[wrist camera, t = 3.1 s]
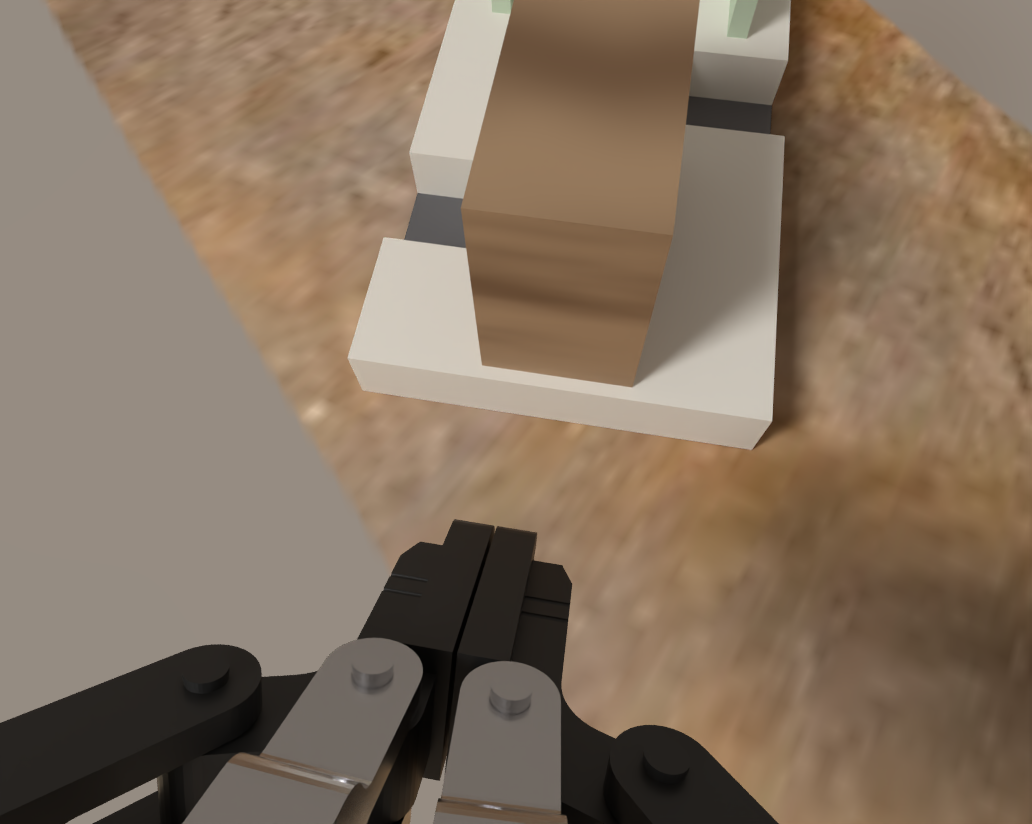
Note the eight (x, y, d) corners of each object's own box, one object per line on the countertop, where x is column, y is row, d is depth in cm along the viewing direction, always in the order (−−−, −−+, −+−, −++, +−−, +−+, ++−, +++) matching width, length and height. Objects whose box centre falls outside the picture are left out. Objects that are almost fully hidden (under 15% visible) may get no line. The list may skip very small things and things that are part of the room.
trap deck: (751, 449, 27) (802, 379, 22) (362, 390, 28) (325, 310, 23) (775, 12, 35) (815, -110, 30) (479, -18, 37) (470, -140, 32)
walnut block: (632, 387, 25) (673, 235, 18) (481, 365, 25) (460, 208, 18) (662, 153, 29) (705, -51, 22) (531, 137, 29) (530, -68, 22)
